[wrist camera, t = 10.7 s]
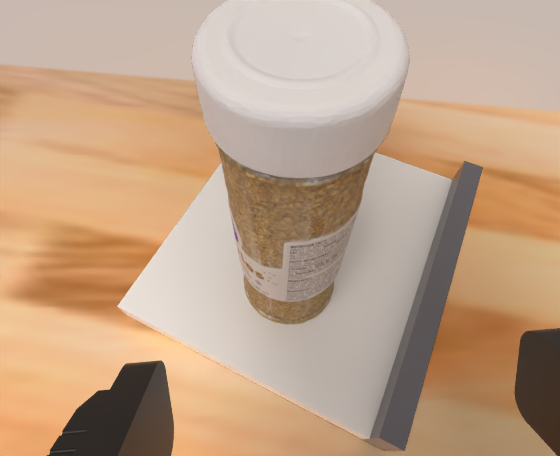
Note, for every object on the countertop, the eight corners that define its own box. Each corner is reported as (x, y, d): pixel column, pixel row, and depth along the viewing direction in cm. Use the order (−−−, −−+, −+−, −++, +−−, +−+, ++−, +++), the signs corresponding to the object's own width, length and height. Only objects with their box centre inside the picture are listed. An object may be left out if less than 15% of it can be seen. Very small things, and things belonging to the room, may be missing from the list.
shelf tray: (127, 315, 20) (103, 294, 17) (259, 127, 27) (257, 89, 24) (386, 452, 17) (408, 453, 14) (461, 200, 24) (485, 168, 21)
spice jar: (232, 262, 20) (161, -2, 8) (311, 232, 21) (347, -45, 9) (264, 343, 18) (230, 144, 6) (351, 306, 19) (464, 71, 7)
